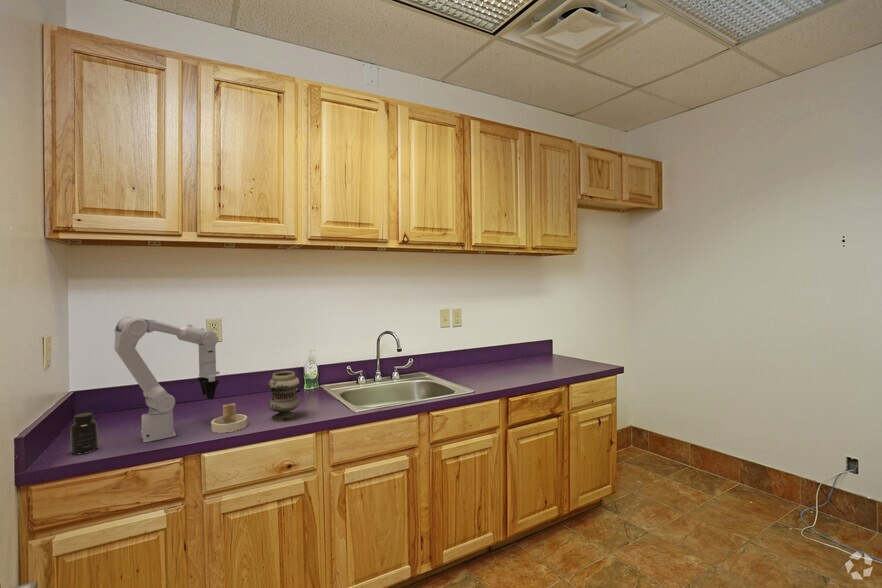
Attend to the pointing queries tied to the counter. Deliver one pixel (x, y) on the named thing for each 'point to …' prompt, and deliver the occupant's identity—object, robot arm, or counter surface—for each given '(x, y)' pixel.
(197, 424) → the counter surface
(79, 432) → the supplement bottle
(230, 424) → the beige round dish
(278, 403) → the apothecary jar
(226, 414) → the brown wooden block
